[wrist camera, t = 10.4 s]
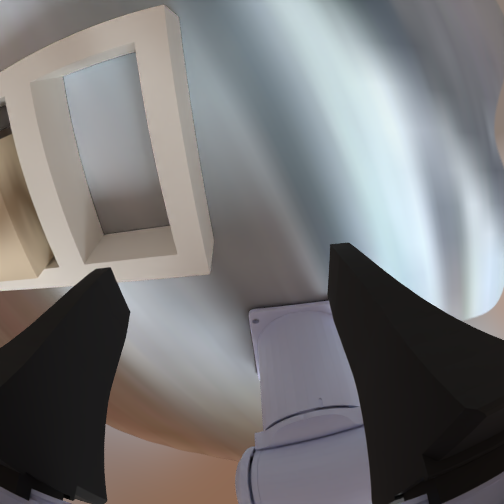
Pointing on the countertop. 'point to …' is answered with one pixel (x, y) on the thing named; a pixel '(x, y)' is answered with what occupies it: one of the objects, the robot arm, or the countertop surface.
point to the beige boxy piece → (18, 220)
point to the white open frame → (70, 167)
